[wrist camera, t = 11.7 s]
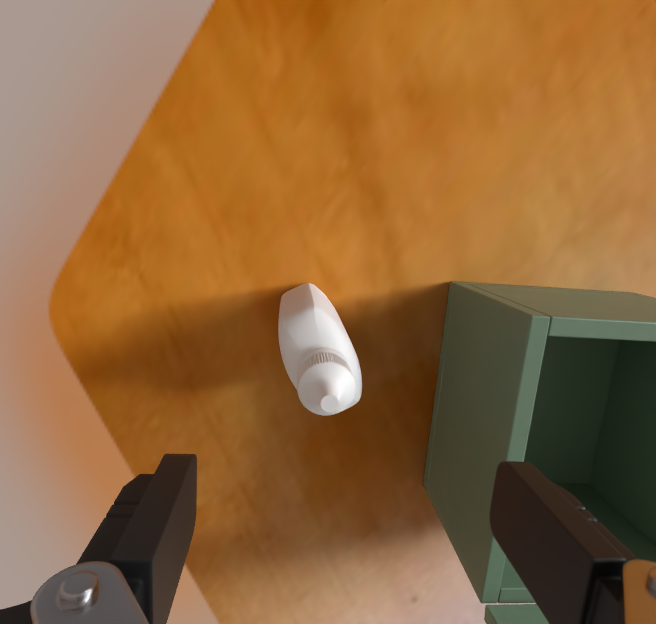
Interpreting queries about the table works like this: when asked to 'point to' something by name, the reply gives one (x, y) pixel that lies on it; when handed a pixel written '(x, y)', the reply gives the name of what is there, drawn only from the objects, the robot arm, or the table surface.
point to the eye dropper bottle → (318, 351)
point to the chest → (543, 414)
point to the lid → (514, 614)
